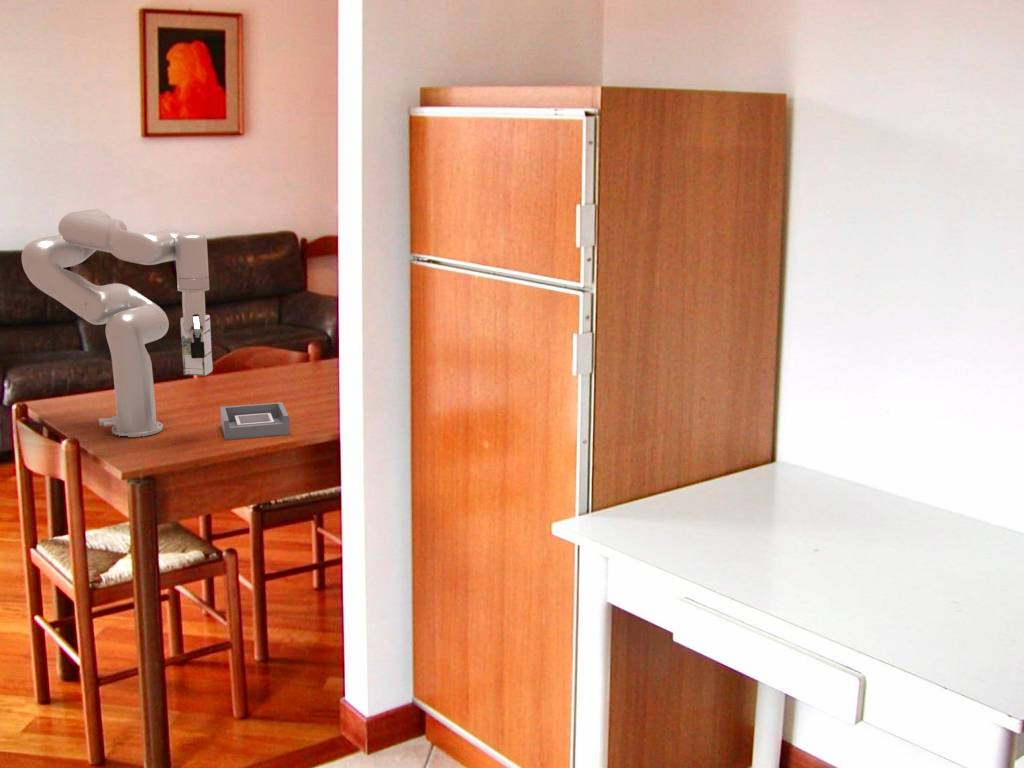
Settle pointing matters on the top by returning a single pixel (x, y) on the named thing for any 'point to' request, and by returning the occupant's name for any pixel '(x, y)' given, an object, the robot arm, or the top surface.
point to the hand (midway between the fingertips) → (197, 353)
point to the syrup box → (190, 364)
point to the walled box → (254, 420)
